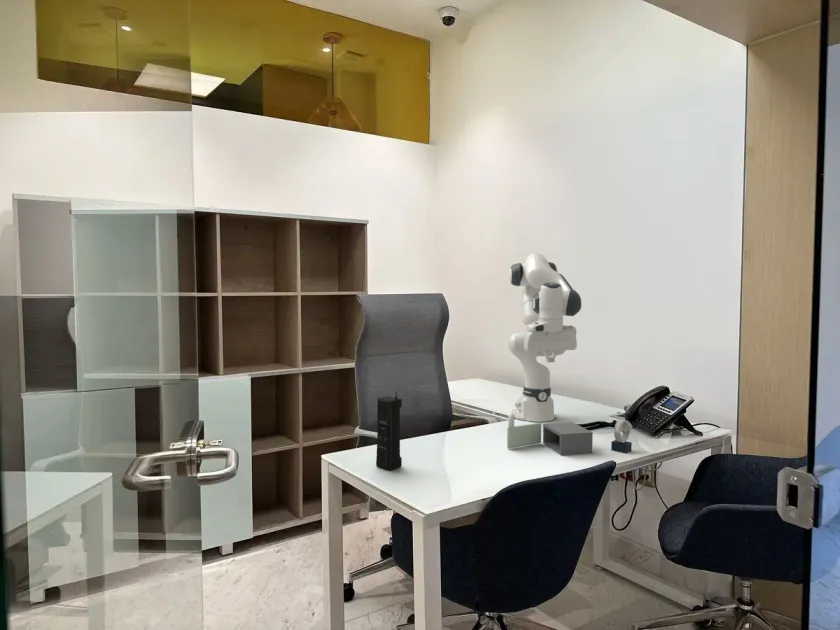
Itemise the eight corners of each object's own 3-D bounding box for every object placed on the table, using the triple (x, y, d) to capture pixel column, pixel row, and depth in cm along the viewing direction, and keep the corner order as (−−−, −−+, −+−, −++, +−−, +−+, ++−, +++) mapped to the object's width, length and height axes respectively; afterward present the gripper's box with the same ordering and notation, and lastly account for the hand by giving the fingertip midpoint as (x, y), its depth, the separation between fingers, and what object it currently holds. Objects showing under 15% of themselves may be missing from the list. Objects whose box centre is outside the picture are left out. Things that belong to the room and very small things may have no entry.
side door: (538, 442, 205) (539, 410, 204) (542, 443, 203) (542, 411, 202) (506, 447, 198) (506, 414, 197) (509, 449, 196) (509, 415, 196)
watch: (633, 449, 196) (634, 419, 196) (624, 454, 191) (624, 423, 190) (618, 446, 200) (619, 417, 200) (608, 451, 195) (609, 420, 194)
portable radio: (372, 465, 179) (372, 390, 178) (386, 461, 183) (386, 388, 182) (388, 471, 173) (388, 393, 172) (402, 467, 178) (402, 391, 176)
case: (542, 443, 204) (542, 423, 204) (572, 441, 207) (572, 422, 206) (560, 455, 190) (561, 434, 189) (592, 453, 192) (592, 432, 192)
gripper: (572, 324, 210) (571, 359, 211) (522, 325, 206) (522, 361, 207) (580, 326, 204) (579, 362, 205) (529, 327, 200) (528, 364, 201)
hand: (550, 362), depth 206 cm, fingers closed
